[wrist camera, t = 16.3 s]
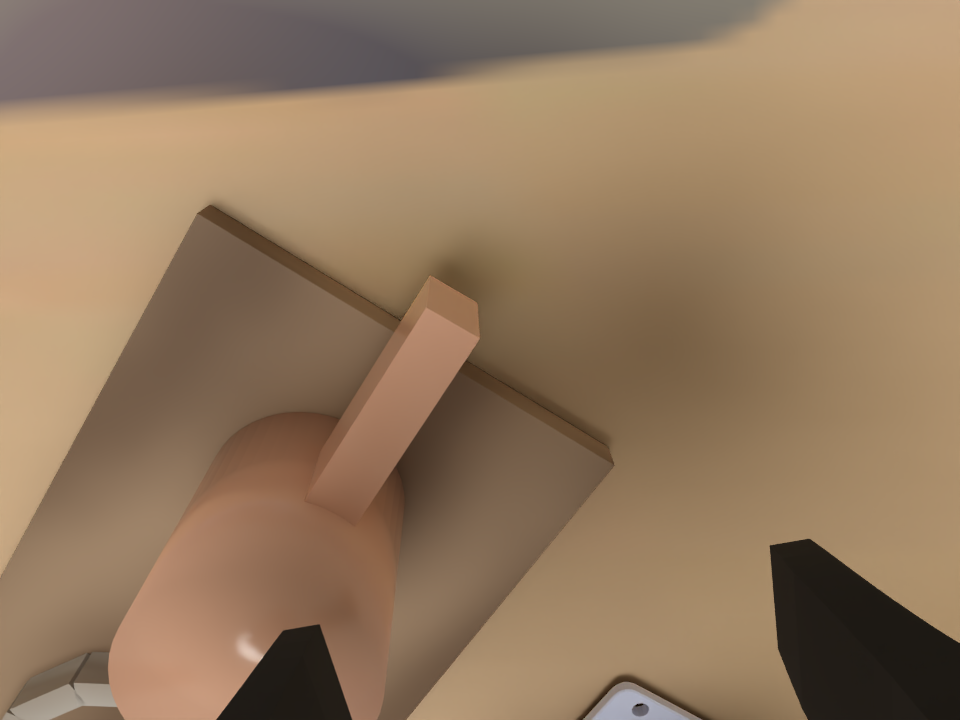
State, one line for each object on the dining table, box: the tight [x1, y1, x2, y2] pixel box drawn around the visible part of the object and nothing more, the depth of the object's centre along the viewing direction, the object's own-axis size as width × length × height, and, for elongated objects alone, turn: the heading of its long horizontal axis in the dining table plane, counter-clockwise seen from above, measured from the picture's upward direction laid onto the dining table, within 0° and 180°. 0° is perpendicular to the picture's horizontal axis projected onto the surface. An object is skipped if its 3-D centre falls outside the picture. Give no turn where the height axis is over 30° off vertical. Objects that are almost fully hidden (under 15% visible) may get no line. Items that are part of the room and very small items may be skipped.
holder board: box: [0, 205, 614, 720], centre depth 23 cm, size 12×22×2 cm, turn 146°
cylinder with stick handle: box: [108, 275, 480, 720], centre depth 18 cm, size 10×5×6 cm, turn 148°
